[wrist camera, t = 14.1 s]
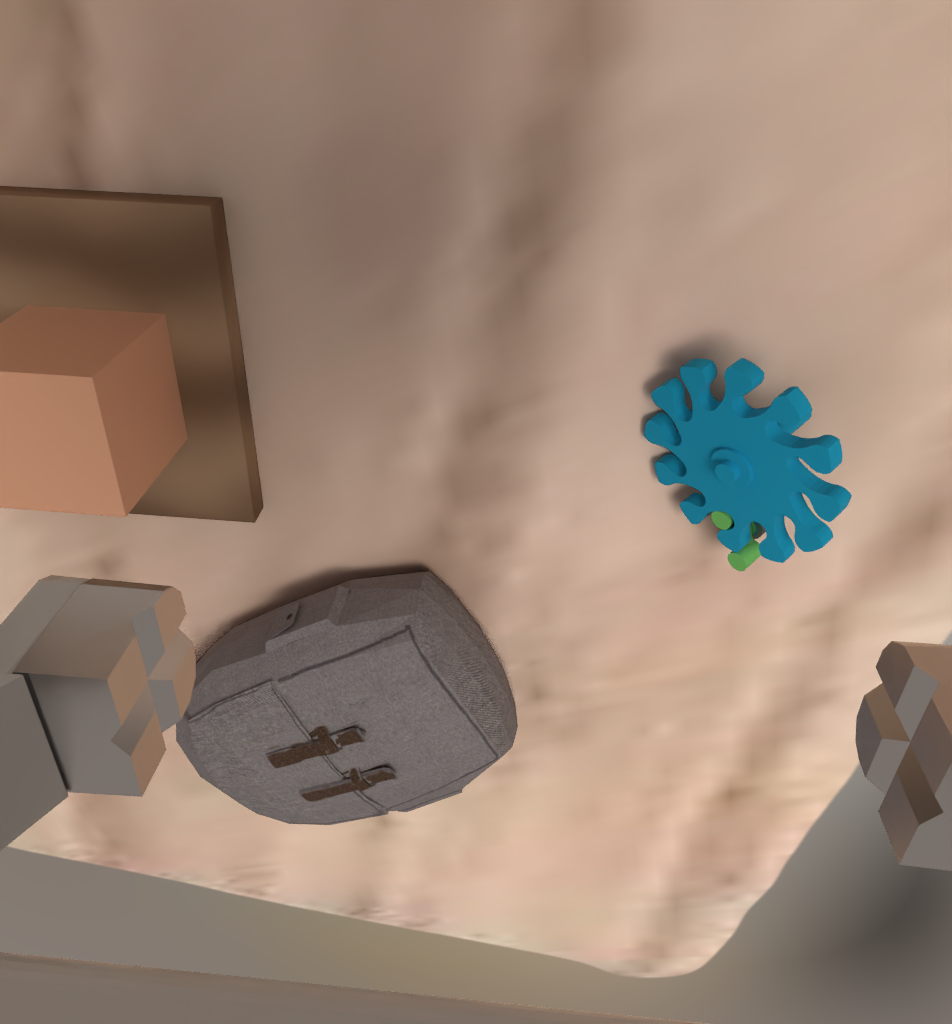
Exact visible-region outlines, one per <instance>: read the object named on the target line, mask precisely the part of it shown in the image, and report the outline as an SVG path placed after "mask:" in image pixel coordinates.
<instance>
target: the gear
mask: <svg viewBox="0 0 952 1024" xmlns="http://www.w3.org/2000/svg"><path fill="white" fill-rule="evenodd" d="M716 375H717V369H716V366H715V364H714V362H713V361H711V360H708V359H692V360H691V361H689V362H688V363H686V364H685V365H683V366H682V367H681V368H680V376H681V379H682V381H683V382H684V384H685V385H686V387H687V389H688V391H689V394H690V396H691V400H692V411H691V410H690V409H689V408H688V407H687V405H686V403H685V389H684V386H683V384H682V383H681V381H680V380H679V379H678V378H672V379H669V380H668V381H666V382H665V383H664V384H662V385H661V386H659V387H658V388H657V389H655V390H654V391H653V392H652V393H651V397H652V399H653V401H654V402H655V404H656V405H657V406H659V407H660V408H662V409H663V410H664V411H665V412H666V413H667V414H668V415H669V416H670V417H671V419H672V420H673V422H674V423H675V425H676V427H677V429H678V431H679V433H680V434H679V433H678V432H677V430H676V428H675V426H674V424H673V422H672V420H671V419H670V417H669V416H668V415H666V414H665V413H663V412H659V413H658V414H657V415H655V416H654V417H652V418H651V419H650V420H649V421H648V422H647V424H646V426H645V431H644V436H645V437H646V439H647V440H648V441H650V442H651V443H653V444H658V445H661V446H663V447H665V448H667V449H668V450H670V451H671V452H673V453H674V454H675V455H676V456H677V457H678V458H677V457H676V456H675V455H672V454H666V455H665V456H663V457H662V458H661V459H659V460H658V461H657V462H656V463H655V470H656V474H657V477H658V480H659V482H660V483H662V484H664V485H671V484H674V483H682V484H686V485H689V486H691V487H693V488H695V489H697V490H699V491H700V492H701V493H702V494H703V495H702V494H699V493H693V494H691V495H690V496H689V497H688V498H686V499H685V500H684V501H683V502H681V503H680V507H681V509H682V511H683V513H684V514H685V516H686V517H687V518H688V520H689V521H690V522H691V523H692V524H698V523H700V522H701V521H702V520H703V519H704V518H706V517H707V516H708V515H709V514H710V513H711V512H713V513H712V514H711V519H712V521H713V523H714V524H715V525H716V526H717V527H718V528H720V529H721V530H720V531H719V532H718V534H717V538H718V540H719V541H720V542H721V543H722V544H723V545H725V546H726V547H727V548H729V549H730V550H732V552H731V553H730V554H729V555H728V561H729V563H730V565H731V566H732V567H733V568H735V569H736V570H738V571H744V570H745V569H746V568H747V567H749V566H750V565H751V564H752V563H753V562H754V561H755V560H756V559H757V558H758V557H759V556H760V555H762V556H763V557H764V558H766V559H769V560H772V561H776V562H781V563H783V562H784V561H786V560H787V559H788V558H789V557H790V556H791V555H792V554H793V553H794V551H795V546H794V543H793V541H792V540H791V538H790V537H789V535H788V533H787V531H786V528H785V523H784V515H785V516H787V517H788V518H790V519H791V520H792V521H793V523H794V525H795V542H796V544H797V545H798V547H799V548H800V549H801V550H802V551H804V552H810V551H815V550H818V549H820V548H822V547H823V546H824V545H825V544H826V543H827V542H829V541H830V540H831V539H832V538H833V534H832V531H831V530H830V528H829V527H828V526H827V525H826V524H825V523H823V522H822V521H821V520H819V519H818V518H817V517H816V516H815V515H814V514H813V513H812V511H811V510H810V509H809V507H808V506H807V504H806V502H805V500H804V498H803V496H802V493H803V494H805V495H806V496H807V497H808V498H809V499H810V501H811V503H812V506H813V508H814V510H815V512H816V513H817V515H818V516H819V517H821V518H822V519H824V520H826V521H828V522H830V521H832V520H833V519H834V518H836V517H837V516H838V515H839V514H840V513H841V512H842V511H843V510H844V509H845V508H846V507H847V505H848V503H849V501H850V499H851V496H852V495H851V494H850V493H849V492H848V491H847V490H846V489H845V488H843V487H841V486H839V485H835V484H831V483H828V482H825V481H824V480H822V479H820V478H818V477H817V476H815V475H814V474H813V473H811V472H810V471H809V470H808V469H807V468H806V467H805V466H804V465H803V464H802V463H801V462H800V461H799V459H798V457H799V458H801V459H802V460H804V461H805V462H806V463H807V464H808V465H809V466H810V467H811V468H812V469H813V470H815V471H816V472H819V473H822V474H828V473H830V472H832V471H833V470H834V469H835V468H836V467H837V466H838V465H839V464H840V463H841V461H842V449H841V444H840V440H839V439H838V438H837V437H835V436H832V435H823V436H821V437H818V438H811V439H807V438H800V437H797V436H794V435H791V434H792V433H793V432H794V431H795V430H797V429H798V428H799V427H800V426H801V425H803V424H804V423H805V422H806V421H807V420H809V419H810V417H811V411H812V408H811V405H810V403H809V401H808V399H807V398H806V397H805V395H804V394H803V393H802V392H801V390H800V389H799V388H798V387H790V388H788V389H787V390H785V391H784V392H783V393H782V394H780V395H779V396H778V397H777V398H775V399H774V401H773V402H772V405H771V406H770V407H766V408H761V409H754V408H752V407H750V406H749V405H748V404H747V403H746V402H745V400H744V397H743V395H745V394H747V393H749V392H750V391H752V390H753V389H754V388H755V387H757V386H758V385H759V384H761V383H762V381H763V379H764V372H763V371H762V370H761V369H760V368H759V367H758V366H756V365H755V364H753V363H751V362H750V361H748V360H746V359H744V358H741V359H740V360H738V361H737V362H736V363H734V364H733V365H731V366H730V367H729V368H727V370H726V371H725V377H724V378H725V383H726V390H725V396H724V398H723V400H722V402H719V401H717V400H716V399H715V398H714V397H713V396H712V395H711V393H710V384H711V383H712V382H713V380H714V379H715V377H716ZM765 532H766V533H767V537H766V539H764V540H763V541H762V542H761V543H760V544H759V543H758V542H757V541H755V540H754V539H757V538H759V537H760V536H762V535H763V534H764V533H765Z"/></svg>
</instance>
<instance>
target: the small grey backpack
mask: <svg viewBox="0 0 952 1024" xmlns="http://www.w3.org/2000/svg"><path fill="white" fill-rule="evenodd" d="M517 727H518V725H517V716H516V707H515V701H514V698H513V695H512V692H511V689H510V686H509V683H508V680H507V677H506V674H505V672H504V670H503V668H502V666H501V664H500V662H499V660H498V657H497V656H496V654H495V652H494V651H493V649H492V647H491V645H490V644H489V642H488V640H487V639H486V637H485V635H484V634H483V632H482V630H481V628H480V627H479V625H478V623H477V622H476V621H475V620H474V618H473V617H472V616H471V614H470V613H469V612H468V611H467V609H466V608H465V607H464V606H463V604H462V603H461V602H460V600H459V599H458V598H457V597H456V595H455V594H454V593H453V592H452V590H451V589H450V588H449V587H448V586H446V585H445V584H444V583H443V582H442V581H441V580H440V579H438V578H437V577H436V576H435V575H434V574H433V573H432V572H430V571H425V572H416V573H407V574H398V575H389V576H380V577H371V578H362V579H353V580H349V581H347V582H344V583H341V584H339V585H336V586H333V587H330V588H328V589H325V590H322V591H320V592H317V593H314V594H312V595H309V596H306V597H304V598H301V599H298V600H295V601H293V602H290V603H288V604H285V605H283V606H281V607H279V608H276V609H274V610H272V611H270V612H267V613H265V614H263V615H260V616H258V617H256V618H254V619H251V620H249V621H247V622H245V623H242V624H240V625H238V626H235V627H233V628H232V629H231V630H230V631H229V632H227V633H226V634H225V635H224V636H223V637H222V638H221V639H220V640H218V641H217V642H216V643H215V644H214V645H213V646H212V647H211V648H209V649H208V650H207V651H206V653H205V654H204V655H203V656H202V657H201V658H200V659H199V660H198V661H197V662H196V678H195V682H194V686H193V691H192V695H191V700H190V702H189V704H188V706H187V709H186V711H185V713H184V715H183V717H182V719H181V720H180V721H179V722H177V723H176V741H177V742H178V744H179V745H180V747H181V748H182V750H183V751H184V753H185V754H186V756H187V757H188V759H189V760H190V762H191V763H192V765H193V766H194V768H195V769H196V771H197V772H198V774H199V775H200V777H202V778H203V779H205V780H206V781H208V782H209V783H211V784H212V785H213V786H215V787H216V788H218V789H219V790H221V791H222V792H224V793H225V794H227V795H228V796H230V797H231V798H233V799H234V800H236V801H237V802H239V803H240V804H242V805H243V806H245V807H247V808H248V809H250V810H252V811H253V812H255V813H257V814H260V815H263V816H266V817H270V818H273V819H276V820H279V821H282V822H286V823H289V824H317V825H332V824H337V823H343V822H348V821H354V820H359V819H364V818H370V817H375V816H381V815H386V814H388V811H400V812H408V811H411V810H414V809H417V808H420V807H422V806H425V805H428V804H431V803H434V802H436V801H439V800H442V799H445V798H448V797H450V796H453V795H456V794H459V793H462V788H464V787H465V786H466V785H467V784H469V783H470V782H471V781H472V780H474V779H475V778H476V777H477V776H479V775H480V774H481V773H482V772H484V771H485V770H486V769H487V768H489V767H490V766H491V765H492V764H494V763H495V762H496V761H497V760H499V759H500V758H501V757H502V756H503V755H504V754H505V753H506V752H507V751H508V750H510V749H511V748H512V746H513V743H514V739H515V735H516V731H517Z"/></svg>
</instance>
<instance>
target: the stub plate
mask: <svg viewBox="0 0 952 1024" xmlns="http://www.w3.org/2000/svg"><path fill="white" fill-rule="evenodd" d="M28 305H32V306H48V307H64V308H80V309H97V310H113V311H129V312H146V313H162V314H165V317H166V322H167V328H168V333H169V339H170V344H171V350H172V355H173V361H174V366H175V372H176V377H177V383H178V388H179V394H180V399H181V405H182V410H183V416H184V421H185V427H186V432H187V438H188V439H187V440H186V441H185V443H184V444H183V445H182V447H181V448H180V449H179V450H178V452H177V453H176V454H175V455H174V457H173V458H172V459H171V460H170V462H169V463H168V464H167V466H166V467H165V468H164V469H163V471H162V472H161V473H160V474H159V476H158V477H157V478H156V479H155V481H154V482H153V483H152V485H151V486H150V487H149V488H148V490H147V491H146V492H145V493H144V495H143V496H142V497H141V498H140V500H139V501H138V502H137V504H136V505H135V506H134V507H133V509H132V510H131V511H130V512H129V513H131V514H144V515H158V516H172V517H185V518H199V519H213V520H227V521H240V522H254V523H255V521H256V520H257V518H258V516H259V514H260V512H261V510H262V509H263V501H262V493H261V486H260V478H259V471H258V463H257V456H256V448H255V441H254V433H253V426H252V418H251V411H250V403H249V396H248V388H247V381H246V373H245V366H244V358H243V351H242V343H241V336H240V328H239V321H238V313H237V306H236V298H235V291H234V283H233V276H232V268H231V261H230V253H229V246H228V238H227V231H226V223H225V216H224V208H223V201H222V198H220V197H200V196H181V195H162V194H142V193H123V192H104V191H84V190H65V189H46V188H26V187H7V186H0V323H1V322H2V321H4V320H5V319H7V318H9V317H10V316H12V315H13V314H15V313H17V312H18V311H20V310H21V309H23V308H24V307H26V306H28Z"/></svg>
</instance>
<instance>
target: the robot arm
mask: <svg viewBox="0 0 952 1024" xmlns="http://www.w3.org/2000/svg"><path fill="white" fill-rule="evenodd" d="M185 615H186V610H185V606H184V603H183V599H182V595H181V592H180V591H179V590H177V589H176V588H174V587H172V586H163V585H153V584H143V583H132V582H122V581H112V580H102V579H85V578H75V577H64V576H54V575H51V576H48V577H46V578H43V579H41V580H39V581H38V582H37V583H36V584H35V585H34V586H33V588H32V589H31V590H30V591H29V592H28V593H27V595H26V596H25V597H24V598H23V599H22V600H21V602H20V603H19V604H18V605H17V606H16V607H15V608H14V610H13V611H12V612H11V613H10V614H9V615H8V617H7V618H6V619H5V620H4V621H3V622H2V624H1V625H0V851H1V850H2V849H3V848H5V847H6V846H7V845H8V844H10V843H11V842H12V841H13V840H14V839H16V838H17V837H18V836H19V835H21V834H22V833H23V832H24V831H26V830H27V829H28V828H29V827H31V826H32V825H33V824H34V823H36V822H37V821H38V820H39V819H41V818H42V817H43V816H44V815H46V814H47V813H48V812H49V811H51V810H52V809H53V808H54V807H55V806H57V805H58V804H59V803H60V802H62V801H63V800H64V799H65V798H67V797H68V793H67V792H75V793H92V794H108V795H124V796H141V797H142V796H143V794H144V792H145V790H146V788H147V786H148V784H149V782H150V780H151V778H152V776H153V774H154V773H155V771H156V769H157V767H158V765H159V763H160V761H161V759H162V757H163V755H164V753H165V751H166V747H165V743H164V739H163V735H162V732H164V731H165V730H167V729H168V728H170V727H171V726H173V725H174V724H176V723H177V722H179V721H180V720H181V719H182V717H183V715H184V713H185V711H186V709H187V706H188V704H189V702H190V700H191V695H192V691H193V686H194V682H195V678H196V657H195V652H194V647H193V642H192V641H191V640H190V639H189V638H188V637H187V636H186V635H185V634H184V633H183V632H182V631H180V630H179V629H178V628H179V626H180V624H181V622H182V621H183V619H184V617H185ZM876 669H877V671H878V673H879V675H880V678H881V680H882V682H883V683H882V684H881V685H879V686H878V687H876V688H875V689H873V690H872V691H870V692H869V693H867V694H866V695H864V698H863V701H862V704H861V706H860V709H859V712H858V715H857V722H856V746H857V751H858V757H859V761H860V764H861V766H862V769H863V772H864V775H865V777H866V778H867V779H868V780H869V781H870V782H871V783H872V784H874V785H875V786H876V787H877V788H878V789H880V790H881V791H882V792H883V793H884V794H885V795H886V796H885V798H884V800H883V803H882V804H881V807H880V809H879V811H878V812H879V814H880V817H881V819H882V822H883V824H884V827H885V829H886V832H887V835H888V837H889V840H890V842H891V845H892V847H893V850H894V852H895V855H896V858H897V860H898V863H899V865H907V866H916V867H924V868H933V869H942V870H950V871H952V645H941V644H926V643H912V642H897V641H891V642H890V643H889V644H888V646H887V647H886V648H885V649H884V650H883V651H882V653H881V656H880V658H879V661H878V663H877V665H876ZM0 1024H708V1023H697V1022H687V1021H678V1020H667V1019H658V1018H648V1017H637V1016H628V1015H618V1014H608V1013H598V1012H587V1011H578V1010H568V1009H558V1008H548V1007H538V1006H528V1005H518V1004H508V1003H498V1002H489V1001H479V1000H469V999H458V998H449V997H439V996H429V995H418V994H409V993H399V992H389V991H379V990H369V989H359V988H350V987H340V986H329V985H320V984H309V983H299V982H290V981H279V980H270V979H260V978H250V977H241V976H231V975H220V974H210V973H200V972H190V971H181V970H171V969H162V968H161V969H160V968H151V967H141V966H131V965H121V964H112V963H102V962H92V961H82V960H73V959H63V958H53V957H43V956H33V955H23V954H12V953H2V952H0Z"/></svg>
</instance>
